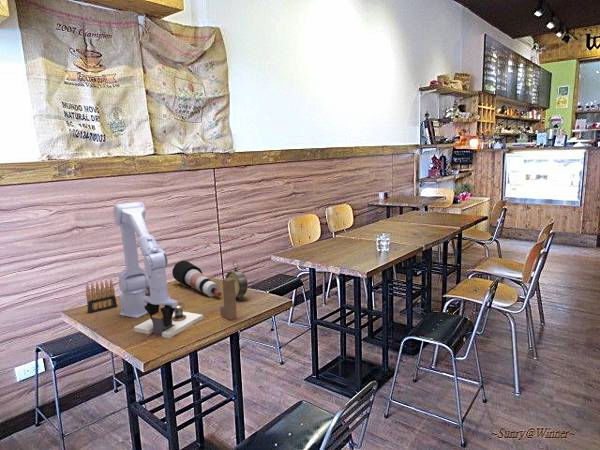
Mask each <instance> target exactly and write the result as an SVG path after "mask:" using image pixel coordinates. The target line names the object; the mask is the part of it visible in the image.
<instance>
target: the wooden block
mask: <svg viewBox="0 0 600 450" xmlns="http://www.w3.org/2000/svg"><path fill="white" fill-rule="evenodd" d="M221 280H222V293H223V294H222V295H223V304H222V305H220V306H219V313H220V316H221V317H223V318H225V319H227V320H228V321H232V320H234V319H237V318H238V313H237V312H238V311H237V303H236V302H237V301H236V300H237V299H236V298H237V297H236V298H235V283H234V279H233V278H230V277H229V278H226V277H225V278H222V279H221Z"/></svg>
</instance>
